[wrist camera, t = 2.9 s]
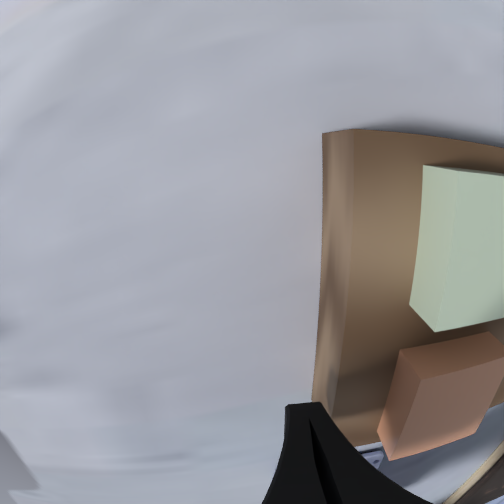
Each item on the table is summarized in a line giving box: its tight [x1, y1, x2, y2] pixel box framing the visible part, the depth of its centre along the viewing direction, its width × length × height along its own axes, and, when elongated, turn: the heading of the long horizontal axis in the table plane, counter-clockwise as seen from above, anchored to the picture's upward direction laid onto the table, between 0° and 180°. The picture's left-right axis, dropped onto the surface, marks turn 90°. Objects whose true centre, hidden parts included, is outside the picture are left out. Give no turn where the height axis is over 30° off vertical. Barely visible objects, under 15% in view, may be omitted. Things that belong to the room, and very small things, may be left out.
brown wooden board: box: [312, 129, 504, 447], centre depth 13 cm, size 14×12×4 cm
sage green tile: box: [409, 165, 504, 332], centre depth 9 cm, size 5×5×2 cm
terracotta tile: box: [377, 331, 504, 461], centre depth 11 cm, size 5×5×2 cm
